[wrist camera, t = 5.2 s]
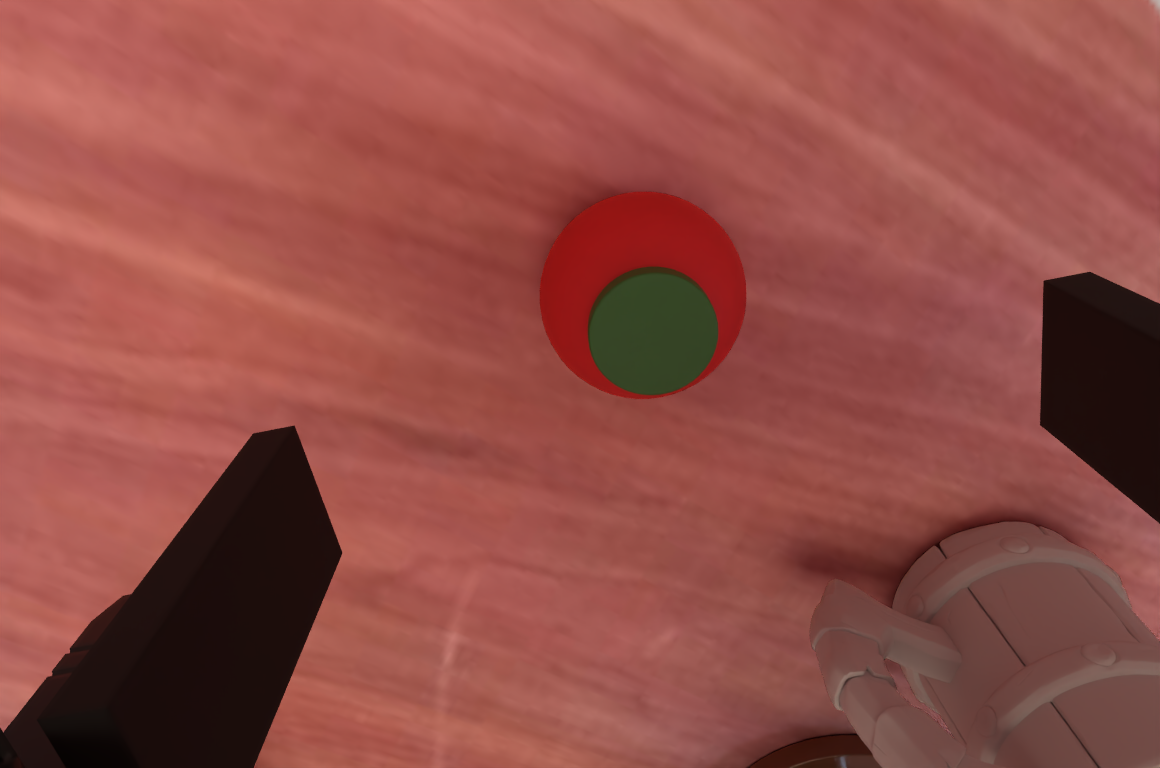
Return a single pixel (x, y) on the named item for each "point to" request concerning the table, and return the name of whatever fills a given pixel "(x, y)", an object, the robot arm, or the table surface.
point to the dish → (822, 754)
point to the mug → (996, 658)
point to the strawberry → (643, 295)
